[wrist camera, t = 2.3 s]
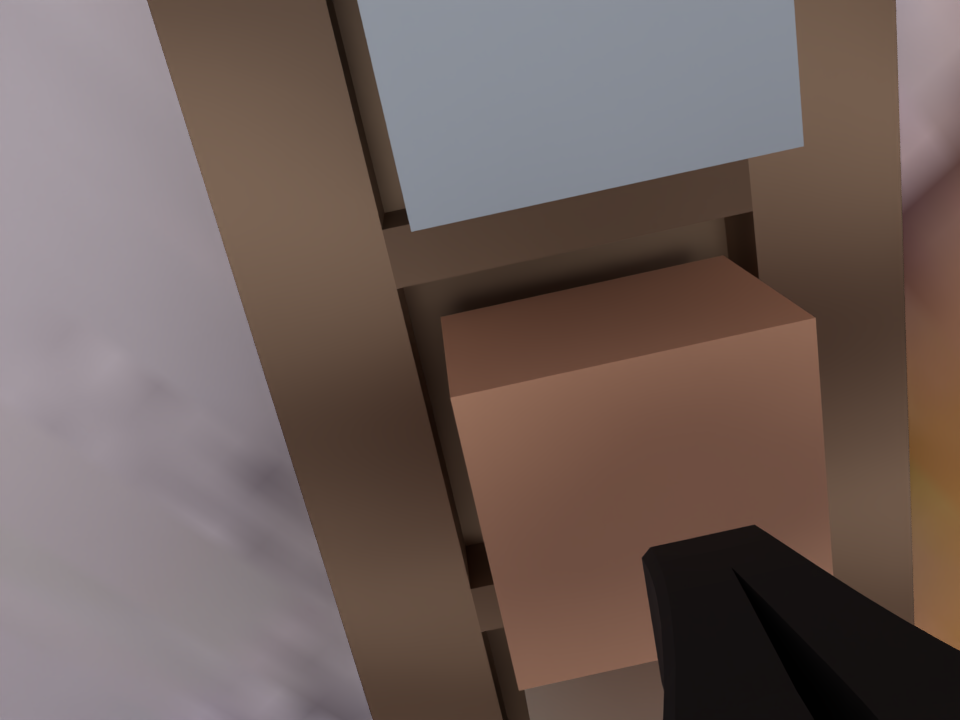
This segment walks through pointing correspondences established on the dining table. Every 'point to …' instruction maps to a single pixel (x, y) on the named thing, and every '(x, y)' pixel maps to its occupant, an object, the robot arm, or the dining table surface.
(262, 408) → the dining table surface
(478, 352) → the salmon brown square block
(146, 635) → the dining table surface
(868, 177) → the board
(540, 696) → the cream block
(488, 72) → the button slate
